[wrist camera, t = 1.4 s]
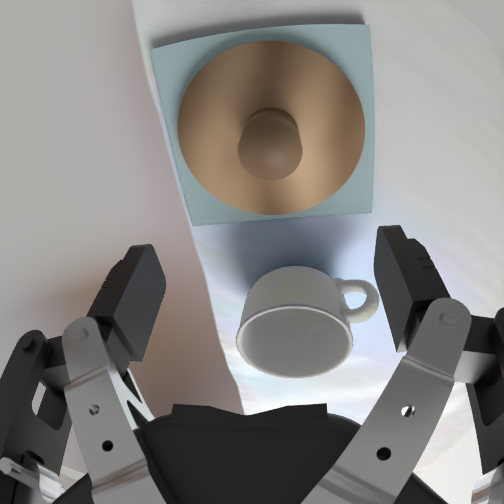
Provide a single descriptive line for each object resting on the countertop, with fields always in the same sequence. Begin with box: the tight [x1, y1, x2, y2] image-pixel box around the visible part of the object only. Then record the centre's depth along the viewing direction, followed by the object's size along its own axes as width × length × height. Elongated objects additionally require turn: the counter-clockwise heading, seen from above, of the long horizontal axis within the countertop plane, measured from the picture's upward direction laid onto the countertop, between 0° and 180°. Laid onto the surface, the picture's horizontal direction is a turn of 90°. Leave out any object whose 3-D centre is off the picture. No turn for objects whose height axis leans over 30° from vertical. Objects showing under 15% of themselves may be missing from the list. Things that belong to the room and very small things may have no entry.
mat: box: [150, 24, 374, 226], centre depth 24 cm, size 16×16×1 cm
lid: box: [177, 41, 365, 215], centre depth 21 cm, size 14×14×5 cm
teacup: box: [236, 266, 379, 378], centre depth 31 cm, size 14×11×8 cm
